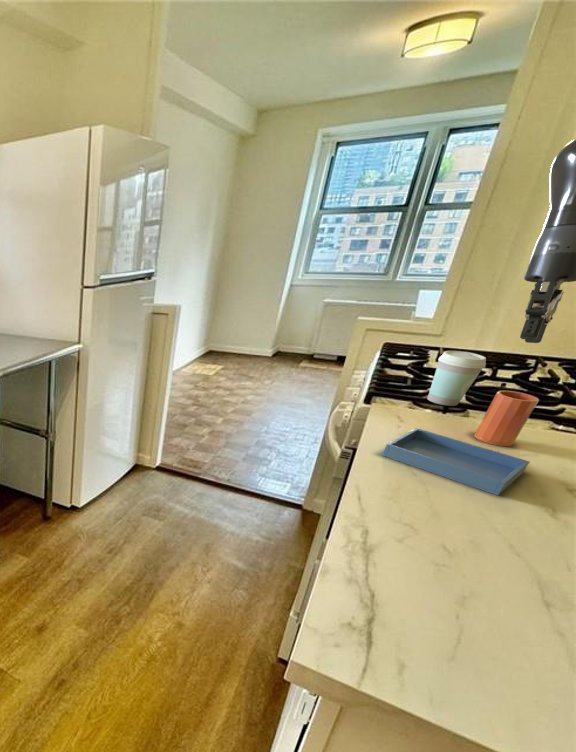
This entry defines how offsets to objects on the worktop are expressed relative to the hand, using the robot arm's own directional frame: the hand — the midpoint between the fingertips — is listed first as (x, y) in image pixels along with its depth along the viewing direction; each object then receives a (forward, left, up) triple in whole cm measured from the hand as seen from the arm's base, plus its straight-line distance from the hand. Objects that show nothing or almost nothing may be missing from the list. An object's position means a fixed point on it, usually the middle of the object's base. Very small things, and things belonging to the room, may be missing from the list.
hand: (530, 341), depth 95 cm
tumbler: (-3, +2, -20) cm, 21 cm away
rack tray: (-2, +23, -20) cm, 31 cm away
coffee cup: (+11, -16, -20) cm, 28 cm away
